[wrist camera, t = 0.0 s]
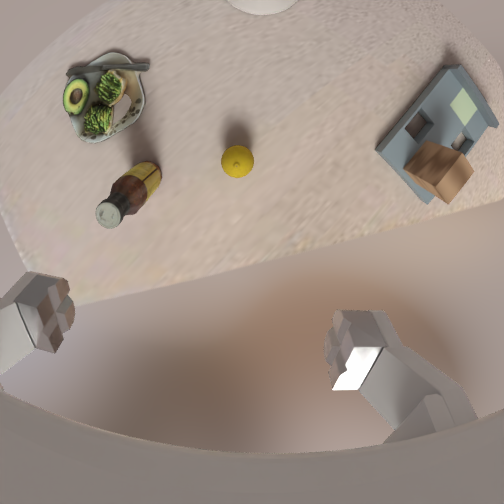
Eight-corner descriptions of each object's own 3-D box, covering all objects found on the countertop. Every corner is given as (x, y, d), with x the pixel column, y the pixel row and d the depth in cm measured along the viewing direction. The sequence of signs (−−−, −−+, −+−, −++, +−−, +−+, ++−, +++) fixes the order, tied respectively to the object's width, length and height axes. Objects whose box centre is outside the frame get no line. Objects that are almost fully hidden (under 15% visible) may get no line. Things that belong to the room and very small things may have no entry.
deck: (420, 199, 56) (434, 209, 51) (374, 149, 51) (387, 155, 46) (482, 119, 46) (499, 123, 41) (444, 65, 41) (460, 64, 36)
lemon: (217, 162, 53) (212, 172, 46) (233, 137, 51) (230, 142, 44) (243, 177, 54) (242, 189, 47) (259, 152, 52) (261, 160, 45)
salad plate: (140, 32, 40) (131, 27, 36) (167, 111, 48) (160, 112, 44) (61, 78, 43) (48, 78, 39) (85, 151, 51) (74, 155, 47)
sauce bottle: (127, 172, 53) (77, 207, 36) (151, 153, 52) (105, 181, 34) (146, 197, 56) (105, 242, 38) (170, 180, 54) (134, 220, 37)
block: (415, 183, 51) (448, 204, 41) (402, 168, 50) (435, 187, 39) (438, 155, 48) (474, 171, 38) (426, 140, 47) (462, 152, 36)
